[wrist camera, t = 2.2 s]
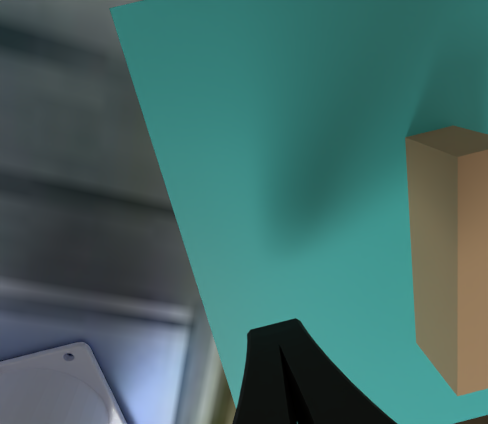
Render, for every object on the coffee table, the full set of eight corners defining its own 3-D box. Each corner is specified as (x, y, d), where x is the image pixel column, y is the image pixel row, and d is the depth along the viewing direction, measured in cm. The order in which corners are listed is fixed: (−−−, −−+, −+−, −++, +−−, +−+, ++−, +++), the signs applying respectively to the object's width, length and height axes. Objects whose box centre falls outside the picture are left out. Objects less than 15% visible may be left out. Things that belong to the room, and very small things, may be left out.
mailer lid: (255, 461, 17) (267, 543, 14) (114, 11, 10) (80, -9, 7) (558, 381, 17) (631, 446, 14) (627, -110, 10) (796, -176, 7)
